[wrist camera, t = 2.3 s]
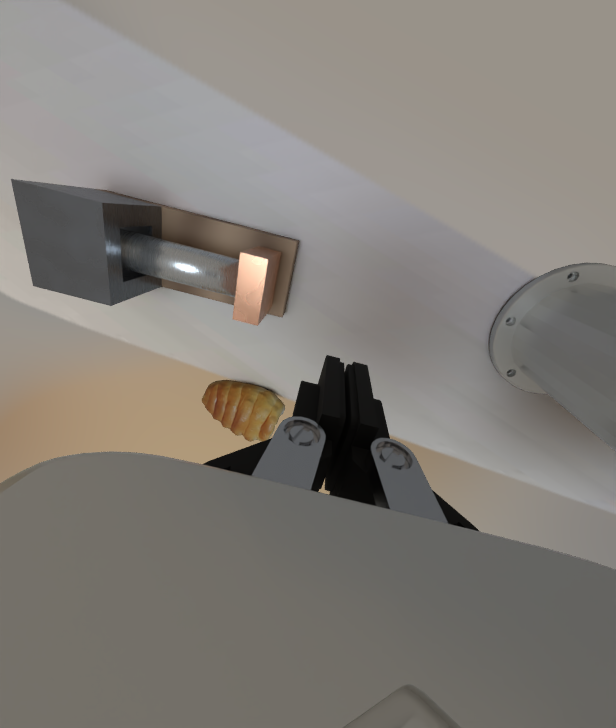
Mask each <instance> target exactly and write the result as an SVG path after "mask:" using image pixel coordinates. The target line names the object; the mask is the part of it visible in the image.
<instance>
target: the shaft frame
mask: <svg viewBox="0 0 616 728" xmlns="http://www.w3.org/2000/svg"><path fill="white" fill-rule="evenodd" d="M11 181H12V186H13V191H14V196H15V200H16V205H17V210H18V215H19V220H20V225H21V229H22V234H23V239H24V244H25V249H26V253H27V258H28V263H29V268H30V273H31V277H32V282H33V286H36V287H39V288H43V289H47V290H51V291H55V292H59V293H63V294H67V295H71V296H75V297H78V298H82V299H86V300H90V301H94V302H98V303H102V304H106V305H110V306H112V305H114V304H117V303H120V302H122V301H125V300H128V299H130V298H133V297H136V296H138V295H141V294H143V293H146V292H149V291H151V290H154V289H157V288H159V287H166V288H170V289H173V290H177V291H181V292H185V293H189V294H193V295H197V296H201V297H205V298H208V299H212V300H216V301H220V302H224V303H228V304H232V305H234V302H235V297H231V296H228V295H224V294H220V293H216V292H212V291H208V290H204V289H200V288H197V287H193V286H189V285H185V284H181V283H177V282H173V281H169V280H166V279H162V278H158V277H154V276H150V275H146V274H142V273H138V272H134V271H131V270H127V269H123V268H122V260H121V244H120V229H124V230H128V231H132V232H136V233H140V234H143V235H147V236H151V237H155V238H159V239H163V240H167V241H170V242H174V243H178V244H182V245H186V246H190V247H194V248H197V249H201V250H205V251H209V252H213V253H217V254H221V255H224V256H228V257H232V258H236V259H240V252H242V251H245V250H248V249H251V248H254V247H257V246H260V247H264V248H268V249H272V250H275V251H279V252H281V257H280V263H279V269H278V274H277V280H276V286H275V291H274V297H273V303H272V308H271V309H270V311H269V312H268V313H267V314H271V315H274V316H278V317H283V315H284V313H285V309H286V304H287V299H288V294H289V289H290V284H291V279H292V274H293V269H294V264H295V259H296V254H297V249H298V244H299V240H295V239H291V238H287V237H284V236H280V235H276V234H272V233H268V232H264V231H260V230H257V229H253V228H249V227H245V226H241V225H237V224H234V223H230V222H226V221H222V220H218V219H214V218H211V217H207V216H203V215H199V214H195V213H191V212H188V211H184V210H180V209H176V208H172V207H168V206H165V205H161V204H157V203H153V202H149V201H145V200H142V199H138V198H134V197H130V196H126V195H122V194H118V193H115V192H111V191H107V190H100V189H91V188H83V187H74V186H66V185H57V184H49V183H40V182H32V181H23V180H15V179H11ZM119 228H120V229H119Z"/></svg>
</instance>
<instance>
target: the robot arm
mask: <svg viewBox="0 0 616 728" xmlns="http://www.w3.org/2000/svg"><path fill="white" fill-rule="evenodd" d="M489 347H490V356H491V359H492V363H493V365H494V366H495V368H496V370H497V371H498V372H499V374H500V375H501V376H502V377H503V378H504V379H505V380H507V381H508V382H509V383H510V384H512V385H513V386H515V387H517V388H519V389H521V390H523V391H527V392H531V393H536V394H549V395H550V396H551V397H552V398H553V399H555V400H556V401H557V402H558V403H559V404H560V405H562V406H563V407H564V408H565V409H566V410H567V411H569V412H570V413H571V414H572V415H573V416H574V417H576V418H577V419H578V420H579V421H580V422H581V423H583V424H584V425H585V426H586V427H587V428H589V429H590V430H591V431H592V432H593V433H594V434H596V435H597V436H598V437H599V438H600V439H601V440H603V441H604V442H605V443H606V444H607V445H608V446H610V447H611V448H612V449H613V450H614V451H615V452H616V266H612V265H607V264H601V263H581V264H573V265H568V266H565V267H561V268H558V269H554V270H552V271H550V272H548V273H546V274H544V275H541V276H539V277H538V278H536V279H535V280H533V281H531V282H530V283H528V284H527V285H525V286H524V287H523V288H522V289H521V290H519V291H518V292H517V293H516V294H515V295H514V296H513V297H512V298H511V299H510V300H509V301H508V303H507V304H506V305H505V306H504V307H503V309H502V310H501V312H500V314H499V315H498V317H497V319H496V321H495V323H494V326H493V328H492V331H491V336H490V342H489ZM324 479H325V490H327V491H330V495H328V494H324V493H320V492H318V491H319V489H321V487H322V485H323V482H324ZM0 728H616V570H615V569H612V568H609V567H607V566H604V565H601V564H598V563H595V562H592V561H589V560H586V559H582V558H579V557H576V556H572V555H568V554H565V553H561V552H558V551H554V550H550V549H547V548H543V547H539V546H535V545H531V544H527V543H523V542H519V541H515V540H511V539H507V538H503V537H499V536H495V535H491V534H487V533H483V532H480V531H479V530H478V529H477V528H476V527H474V526H473V525H472V524H471V523H470V522H469V521H468V520H466V519H465V518H464V517H463V516H462V515H460V514H459V513H458V512H457V511H456V510H455V509H453V508H452V507H451V506H450V505H449V504H448V503H447V502H445V501H444V500H443V499H442V498H441V497H440V496H439V495H437V494H436V493H435V492H434V491H433V490H432V489H431V487H430V485H429V483H428V481H427V479H426V477H425V475H424V473H423V471H422V469H421V467H420V465H419V463H418V461H417V459H416V457H415V456H414V454H413V453H412V452H411V450H409V449H408V448H407V447H406V446H405V445H403V444H401V443H400V442H398V441H396V440H393V439H390V437H389V433H388V428H387V424H386V420H385V415H384V411H383V406H382V403H381V401H380V400H377V399H374V398H373V393H372V388H371V382H370V377H369V372H368V366H367V365H364V364H360V363H356V362H353V364H352V365H350V364H348V365H347V367H346V370H345V373H344V363H342V362H340V358H336V357H332V356H329V355H327V356H326V358H325V362H324V365H323V368H322V372H321V375H320V379H319V382H318V385H317V384H313V383H309V382H305V381H301V384H300V388H299V392H298V396H297V400H296V404H295V408H294V412H293V416H292V417H289V418H287V419H285V420H283V421H282V422H281V424H280V425H279V427H278V428H277V430H276V432H275V434H274V436H273V438H271V439H268V440H265V441H263V442H260V443H257V444H255V445H252V446H249V447H246V448H244V449H241V450H238V451H235V452H233V453H230V454H227V455H224V456H222V457H219V458H216V459H214V460H211V461H208V462H206V463H204V464H198V463H193V462H188V461H183V460H179V459H174V458H169V457H164V456H157V455H151V454H143V453H131V452H96V453H82V454H75V455H69V456H63V457H59V458H54V459H51V460H47V461H45V462H41V463H39V464H36V465H34V466H32V467H30V468H27V469H25V470H23V471H21V472H19V473H17V474H16V475H14V476H12V477H10V478H8V479H7V480H5V481H3V482H2V483H0Z"/></svg>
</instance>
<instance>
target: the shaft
mask: <svg viewBox="0 0 616 728" xmlns="http://www.w3.org/2000/svg"><path fill="white" fill-rule="evenodd" d="M119 229H120V228H119ZM120 244H121V260H122V268H123V269H127V270H131V271H134V272H138V273H142V274H146V275H150V276H154V277H158V278H162V279H166V280H169V281H173V282H177V283H181V284H185V285H189V286H193V287H197V288H200V289H204V290H208V291H212V292H216V293H220V294H224V295H228V296H231V297H235V302H234V311H233V319H234V320H238V321H242V322H245V323H249V324H253V325H257V326H258V325H259V323H260V322H261V321H262V319H263V318H264V317H265V316H266V314H267V313H268V312H269V311H270V309H271V308H272V303H273V297H274V291H275V286H276V280H277V274H278V269H279V263H280V257H281V252H279V251H275V250H272V249H268V248H264V247H260V246H257V247H254V248H251V249H248V250H245V251H242V252H240V259H236V258H232V257H228V256H224V255H221V254H217V253H213V252H209V251H205V250H201V249H197V248H194V247H190V246H186V245H182V244H178V243H174V242H170V241H167V240H163V239H159V238H155V237H151V236H147V235H143V234H140V233H136V232H132V231H128V230H124V229H120Z"/></svg>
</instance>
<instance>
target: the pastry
mask: <svg viewBox="0 0 616 728" xmlns="http://www.w3.org/2000/svg"><path fill="white" fill-rule="evenodd" d="M202 402H203V404H204V405H205V408H206V409H207V410H208V411H209V412H210V413H211V414H212V416H213V418H214V419H216V420H218V421H220V422H221V423H222V425H223V427H225V428H229V429H230V430H231V431H232V432H233V433H234V434H235V435H243V436H244V437H245V439H246V440H248V441H254V440H260V441H262V442H263V441H265V440H268V439H269V438H270V436H271V435H272V433H273V431H274V427H275V425H276V424H277V422H278V419H279V417H280V416H281V415H282V414H283V412H284V410H285V405H284V404H283V403H282V401H281V400H280V399H279V398H278V397H277V396H276V395H275V394H274V393H273V392H272V391H269V390H266V389H264V388H263V387H260V386H256V385H251V384H248V383H242V382H237V381H232V380H221V381H215V382H213V383H211V384H210V385H209V386H208V388H207V389H206V392H205V394H204V396H203V398H202Z"/></svg>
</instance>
